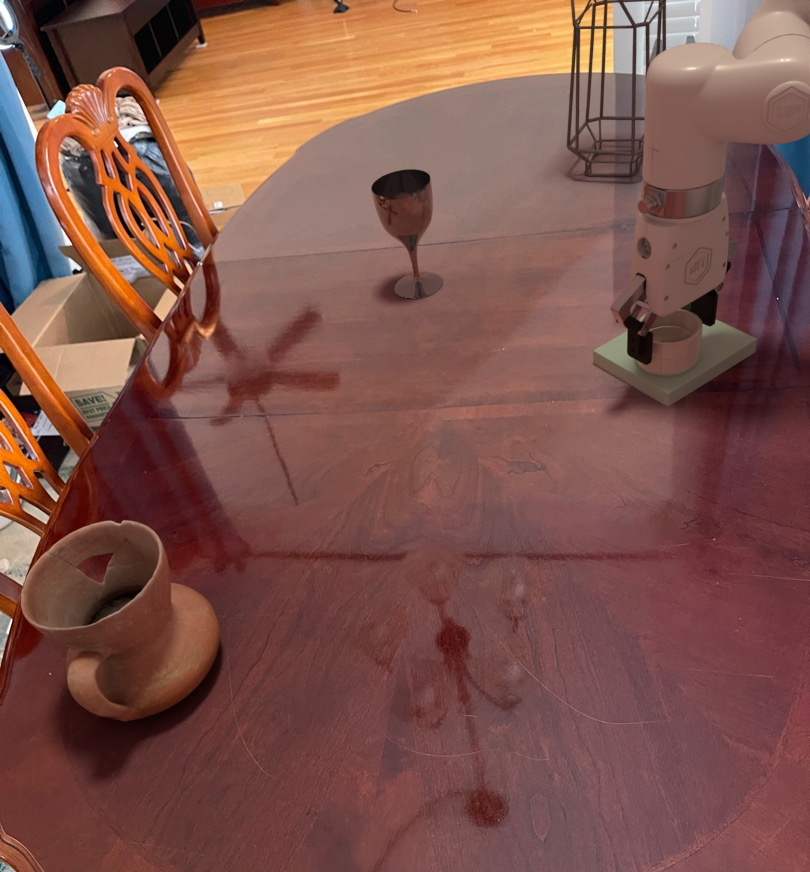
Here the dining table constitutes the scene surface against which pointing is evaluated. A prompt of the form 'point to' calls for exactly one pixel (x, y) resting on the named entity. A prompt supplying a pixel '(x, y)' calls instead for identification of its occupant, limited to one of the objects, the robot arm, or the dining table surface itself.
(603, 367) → the scale
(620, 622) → the dining table surface
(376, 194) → the wine glass
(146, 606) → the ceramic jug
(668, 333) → the bowl
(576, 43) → the geometric lantern
